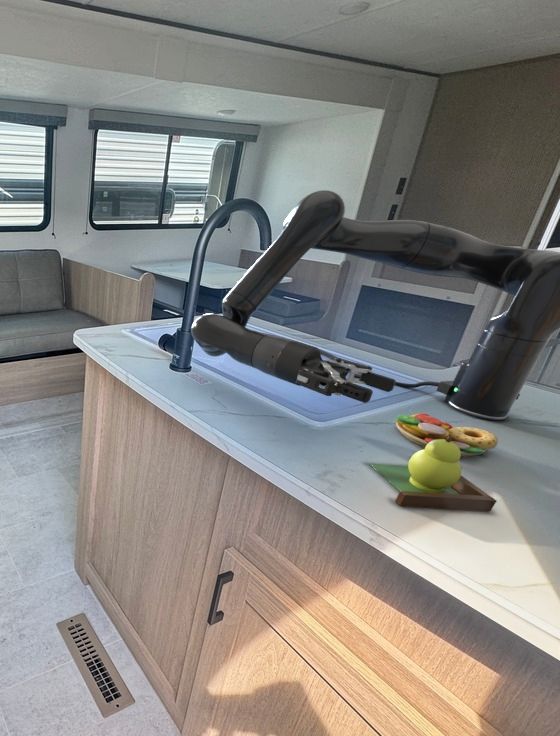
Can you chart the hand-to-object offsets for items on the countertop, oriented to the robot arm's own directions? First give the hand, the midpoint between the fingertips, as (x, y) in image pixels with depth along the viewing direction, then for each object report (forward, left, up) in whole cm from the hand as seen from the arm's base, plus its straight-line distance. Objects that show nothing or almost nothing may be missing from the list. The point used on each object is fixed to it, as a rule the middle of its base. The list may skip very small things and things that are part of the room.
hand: (382, 391), depth 69 cm
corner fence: (+8, +2, -12) cm, 15 cm away
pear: (+9, +3, -12) cm, 15 cm away
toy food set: (-1, +20, -12) cm, 24 cm away
